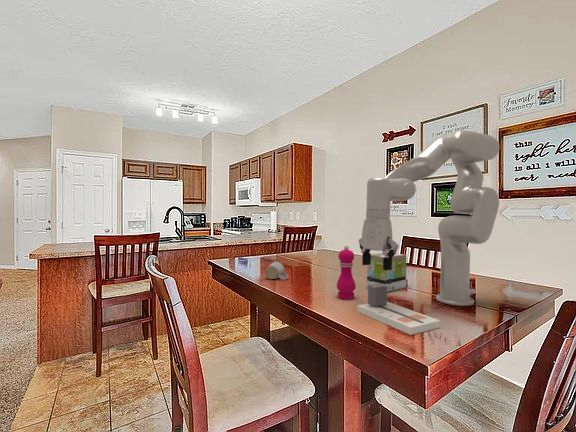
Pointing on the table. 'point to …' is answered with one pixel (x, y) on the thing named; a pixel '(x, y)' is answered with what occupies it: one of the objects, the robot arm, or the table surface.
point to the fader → (377, 295)
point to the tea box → (387, 272)
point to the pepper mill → (346, 275)
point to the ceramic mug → (276, 271)
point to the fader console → (400, 318)
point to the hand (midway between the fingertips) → (376, 267)
